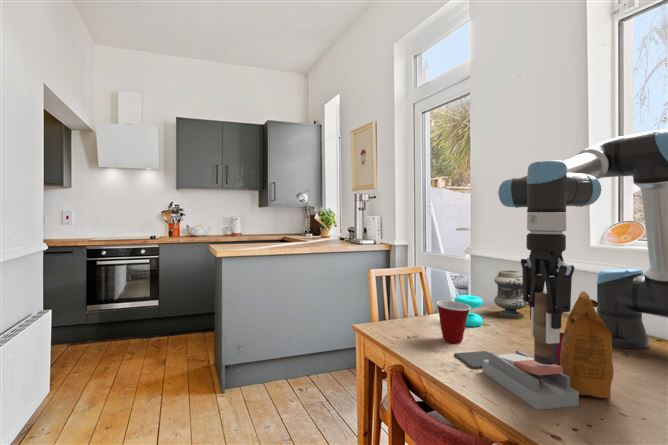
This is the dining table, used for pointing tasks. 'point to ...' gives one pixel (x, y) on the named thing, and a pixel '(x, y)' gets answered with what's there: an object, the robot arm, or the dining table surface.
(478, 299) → the donuts
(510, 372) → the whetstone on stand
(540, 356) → the wooden pestle
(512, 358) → the rocker
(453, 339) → the plastic cup
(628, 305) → the robot arm
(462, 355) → the mat
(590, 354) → the coffee package
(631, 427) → the dining table surface
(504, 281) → the apothecary jar
